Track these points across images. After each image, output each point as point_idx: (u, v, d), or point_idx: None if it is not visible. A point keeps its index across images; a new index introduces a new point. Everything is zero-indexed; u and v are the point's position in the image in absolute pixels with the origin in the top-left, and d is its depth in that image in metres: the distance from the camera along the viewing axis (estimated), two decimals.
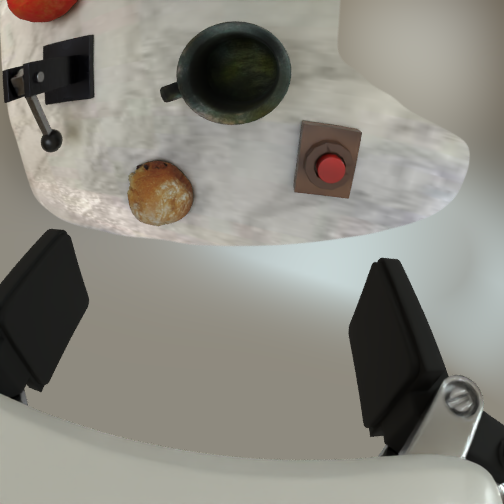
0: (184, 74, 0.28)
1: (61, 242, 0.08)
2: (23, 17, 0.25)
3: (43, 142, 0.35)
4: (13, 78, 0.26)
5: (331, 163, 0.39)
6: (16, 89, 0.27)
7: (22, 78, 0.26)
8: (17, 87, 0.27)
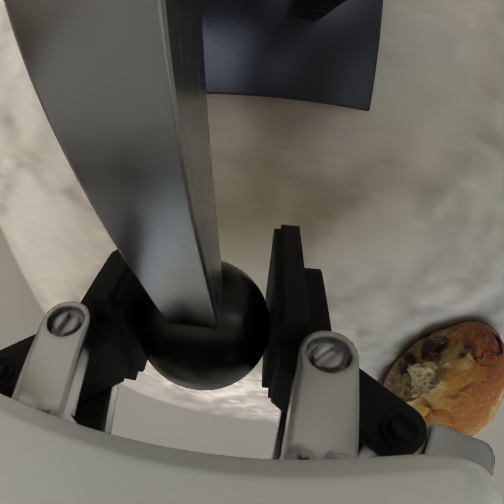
0: None
1: None
2: None
3: (174, 367, 0.07)
4: None
5: None
6: None
7: None
8: None
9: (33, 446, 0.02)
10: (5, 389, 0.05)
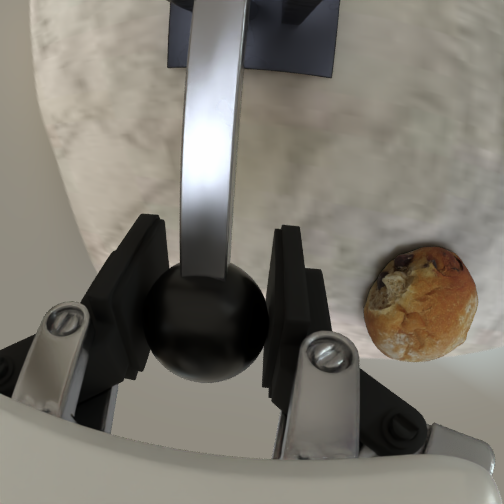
0: None
1: (158, 226, 0.09)
2: None
3: (180, 317, 0.07)
4: None
5: None
6: None
7: None
8: None
9: (33, 446, 0.02)
10: (5, 389, 0.05)
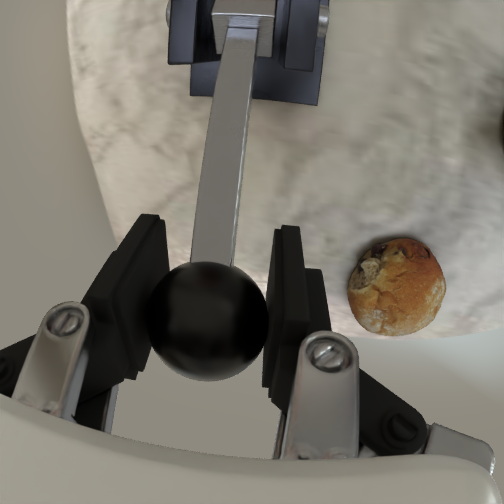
0: None
1: (159, 226, 0.09)
2: None
3: (188, 285, 0.07)
4: None
5: None
6: None
7: None
8: None
9: (33, 446, 0.02)
10: (5, 389, 0.05)
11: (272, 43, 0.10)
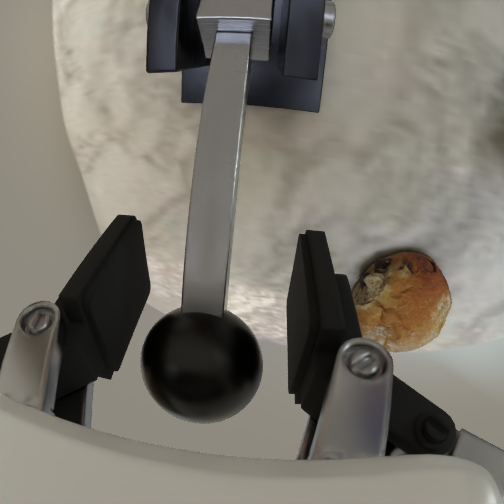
0: None
1: (134, 227, 0.09)
2: None
3: (179, 344, 0.07)
4: None
5: None
6: None
7: None
8: None
9: (33, 446, 0.02)
10: None
11: (269, 47, 0.09)
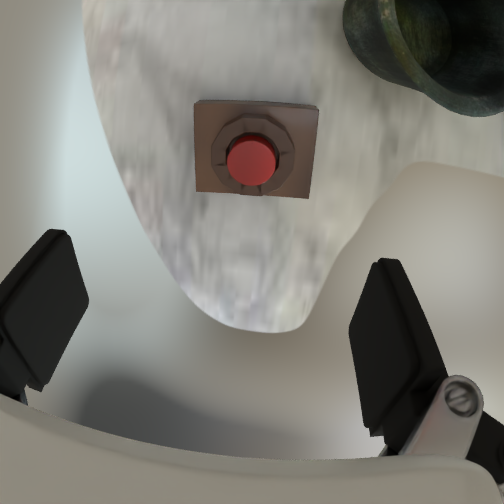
0: None
1: (61, 242, 0.08)
2: None
3: None
4: None
5: (264, 162, 0.23)
6: None
7: None
8: None
9: (33, 446, 0.02)
10: None
11: None
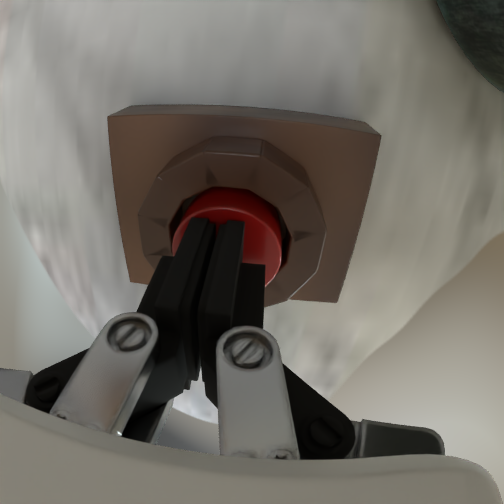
0: None
1: None
2: None
3: None
4: None
5: (257, 255, 0.10)
6: None
7: None
8: None
9: (33, 446, 0.02)
10: None
11: None
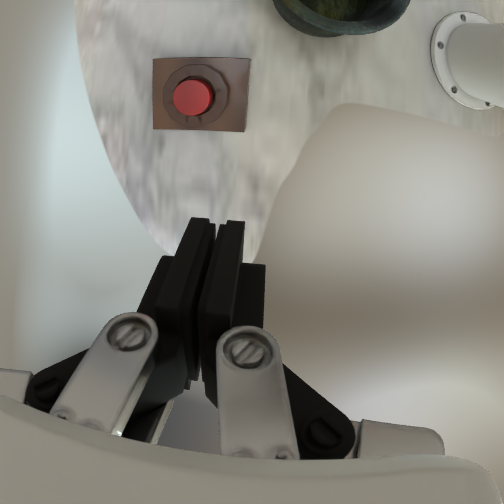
0: None
1: None
2: None
3: None
4: None
5: (201, 96, 0.27)
6: None
7: None
8: None
9: (33, 446, 0.02)
10: None
11: None
